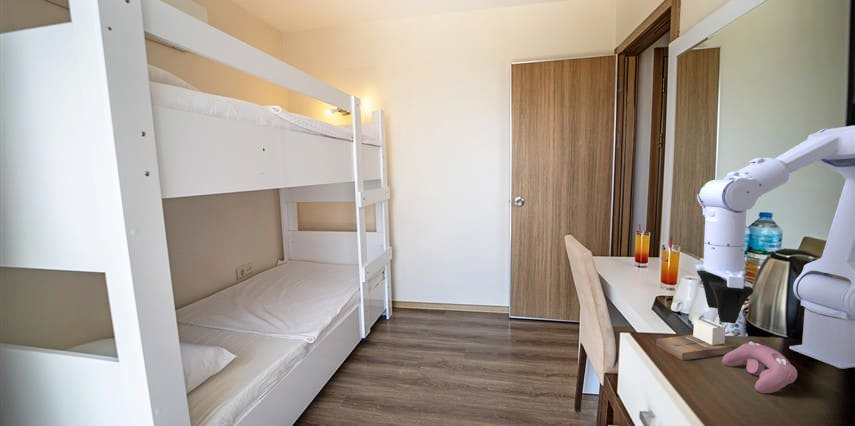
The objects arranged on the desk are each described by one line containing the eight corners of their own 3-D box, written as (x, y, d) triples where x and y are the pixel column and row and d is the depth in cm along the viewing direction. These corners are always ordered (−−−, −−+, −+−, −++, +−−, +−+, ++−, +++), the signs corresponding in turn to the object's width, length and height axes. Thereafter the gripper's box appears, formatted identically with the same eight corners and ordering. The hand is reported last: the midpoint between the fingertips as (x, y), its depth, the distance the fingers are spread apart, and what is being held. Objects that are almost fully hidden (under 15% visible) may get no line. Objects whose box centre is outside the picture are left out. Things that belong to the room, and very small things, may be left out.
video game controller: (785, 406, 54) (811, 370, 53) (755, 391, 55) (781, 356, 54) (741, 372, 64) (763, 341, 63) (717, 360, 65) (738, 329, 64)
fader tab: (705, 334, 73) (705, 318, 72) (724, 343, 69) (725, 325, 68) (693, 336, 72) (694, 319, 72) (712, 345, 68) (712, 327, 68)
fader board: (708, 339, 74) (708, 332, 74) (737, 352, 68) (738, 345, 68) (656, 345, 72) (656, 338, 72) (682, 360, 66) (682, 352, 66)
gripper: (688, 236, 72) (686, 299, 73) (707, 249, 59) (704, 325, 60) (732, 238, 68) (729, 303, 70) (762, 252, 56) (757, 332, 57)
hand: (721, 314), depth 65 cm, fingers open, 7 cm apart
